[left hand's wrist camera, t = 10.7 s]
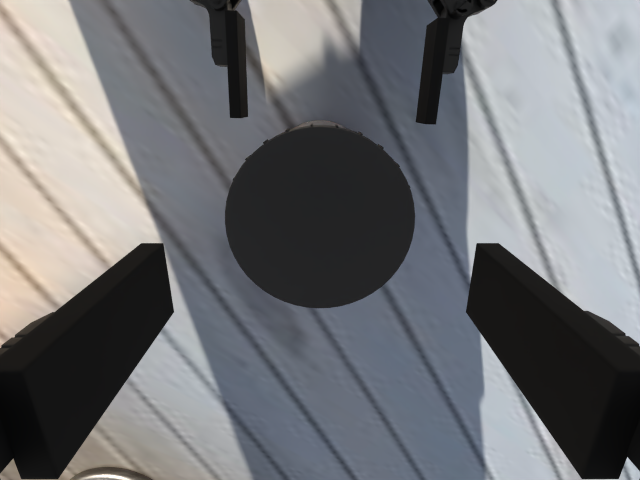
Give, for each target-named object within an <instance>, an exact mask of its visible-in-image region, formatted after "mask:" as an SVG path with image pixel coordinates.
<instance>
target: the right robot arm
mask: <svg viewBox="0 0 640 480" xmlns="http://www.w3.org/2000/svg"><path fill="white" fill-rule="evenodd" d="M190 1H191V2H193V3H194V4H196V5H200V6H202V7H204V8H206V9H207V10H208V12H209V17H210V32H211V46H212V58H213V60H214V62H215V65H218V66H221V67H228V85H229V105H230V118H244V117H248V104H247V75H246V45H245V19H244V18H243V17H242V16H241V15H240V14H239V13H238V12H237V11H234V10H235V9H236V7H237V6H238V4H239V3H240V2H241V0H190ZM496 1H497V0H428V2H429V4H430V5H431V7H432V9H433V10H434V12H435V14H436V15H437V17H438V18H437V19H436V20H434V21H433V22H431V23H430V24H429V25H427V29H426V38H425V46H424V55H423V64H422V73H421V81H420V90H419V99H418V108H417V116H416V122H418V123H423V124H436V119H437V112H438V104H439V97H440V89H441V81H442V74H450V73H454V71H455V69H456V67H457V65H458V60H459V53H460V46H461V39H462V32H463V26H464V22H465V20H466V19H467V17H469V16H472V15H476V14H478V13H480V12H482V11H484V10H485V9H487V8H489V7H491V6H492V5H494V4H495V3H496Z"/></svg>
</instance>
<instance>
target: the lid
mask: <svg viewBox="0 0 640 480" xmlns="http://www.w3.org/2000/svg"><path fill="white" fill-rule="evenodd" d="M263 143H264V144H263V145H262V146H261V147H260V148H258V149H257V150H256V151H255V152H254V153H253V154H252V155H250V156H248V157H247V158H246V159H245V160H246V161H245V163H244V164H243V165H242V166H241V168H240V170H239V171H238V173H237V174H236V176H235V178H233V183H232V185H231V187H230V190H229V194H228V197H227V201H226V210H225V225H226V233H227V237H228V241H229V245H230V248H231V250H232V252H233V255H234V257H235V259H236V260H237V262H238V264H239V265H240V267H241V268H242V270H243V271H244V272H245V273H246V275H247V276H248V277H249V278H250V279H251V280H252V281H253V282H254V283H255V284H256V285H257V286H259V287H260V288H261V289H262V290H264V291H265V292H267V293H269V294H270V295H272V296H273V297H275V298H278V299H280V300H282V301H284V302H287V303H290V304H294V305H297V306H303V307H309V308H331V307H338V306H343V305H346V304H350V303H353V302H355V301H358V300H360V299H363V298H364V297H366V296H368V295H370V294H372V293H373V292H375V291H376V290H377V289H379V288H380V287H382V286H383V285H384V284H385V283H386V282H387V281H388V280H389V279H390V278H391V277H392V276H393V275H394V273H395V272H396V271H397V270H398V268H399V267H400V265H401V264H402V262H403V261H404V259H405V256H406V254H407V252H408V250H409V247H410V244H411V241H412V238H413V232H414V225H415V211H414V202H413V198H412V194H411V190H410V186H409V185H408V183H407V180H406V178H405V176H404V175H403V173H402V171H401V169H400V168H399V167H400V166H399V165H398V164H397V163H396V162H395V161H394V160H393V159H392V158H391V157H390V156H389V155H388V154H387V153H386V152H385V151H384V150H383V147H382V146H381V145H379V144H378V145H376V144H375V143H374V142H372V141H371V140H370V139H368V138H366V137H364V136H363V134H362V133H361V132H358V133H357V132H354V131H351V130H349V129H346V128H341V127H338V125H336V124H335V126H330V125H313V123H312V124H311V125H309V126H303V127H298V128H295V129H292V130H290V129H287V130H286V132H284V133H281V134H279V135H277V136H275V137H274V138H272V139H271V140H268V139H267V140H266V141H265V142H263Z"/></svg>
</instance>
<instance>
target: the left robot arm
mask: <svg viewBox="0 0 640 480" xmlns="http://www.w3.org/2000/svg"><path fill="white" fill-rule="evenodd" d="M173 313H174V309H173V303H172V296H171V290H170V284H169V277H168V271H167V264H166V258H165V251H164V245H163V243H141V244H140V245H139V246H137V247H136V248H135V249H134V250H132V251H131V252H130V253H129V254H127V255H126V256H125V257H124V258H122V259H121V260H120V261H119V262H117V263H116V264H115V265H114V266H112V267H111V268H110V269H108V270H107V271H106V272H105V273H103V274H102V275H101V276H100V277H98V278H97V279H96V280H95V281H93V282H92V283H91V284H90V285H88V286H87V287H86V288H85V289H83V290H82V291H81V292H79V293H78V294H77V295H76V296H74V297H73V298H72V299H71V300H69V301H68V302H67V303H66V304H64V305H63V306H62V307H61V308H59V309H58V310H57V311H56V312H52V313H50V314H48V315H46V316H44V317H42V318H40V319H38V320H36V321H34V322H32V323H30V324H29V325H28V326H26V327H25V328H24V329H22V330H21V331H20V332H18V333H17V334H16V335H15V338H11V339H9V340H8V341H7V342H5V343H4V344H3V345H1V346H2V347H1V348H0V473H1V472H2V471H3V469H4V468H5V467H6V466H7V465H8V464H9V462H10V461H11V460H12V459H13V458H14V461H15V464H16V466H17V469H18V471H19V474H20V477H21V479H58V478H59V477H60V475H61V474H62V472H63V471H64V470H65V468H66V467H67V465H68V464H69V462H70V461H71V459H72V458H73V457H74V455H75V454H76V452H77V451H78V449H79V448H80V446H81V445H82V444H83V442H84V441H85V439H86V438H87V436H88V435H89V434H90V432H91V431H92V429H93V428H94V426H95V425H96V423H97V422H98V421H99V419H100V418H101V416H102V415H103V413H104V412H105V410H106V409H107V408H108V406H109V405H110V403H111V402H112V400H113V399H114V398H115V396H116V395H117V393H118V392H119V390H120V389H121V387H122V386H123V385H124V383H125V382H126V380H127V379H128V377H129V376H130V374H131V373H132V372H133V370H134V369H135V367H136V366H137V364H138V363H139V362H140V360H141V359H142V357H143V356H144V354H145V353H146V351H147V350H148V349H149V347H150V346H151V344H152V343H153V341H154V340H155V338H156V337H157V336H158V334H159V333H160V331H161V330H162V328H163V327H164V326H165V324H166V323H167V321H168V320H169V318H170V317H171V315H172V314H173ZM466 313H467V314H468V315H469V317H470V318H471V320H472V321H473V323H474V324H475V326H476V327H477V328H478V330H479V331H480V333H481V334H482V336H483V337H484V338H485V340H486V341H487V343H488V344H489V346H490V347H491V349H492V350H493V351H494V353H495V354H496V356H497V357H498V359H499V360H500V362H501V363H502V364H503V366H504V367H505V369H506V370H507V372H508V373H509V374H510V376H511V377H512V379H513V380H514V382H515V383H516V385H517V386H518V387H519V389H520V390H521V392H522V393H523V395H524V396H525V398H526V399H527V400H528V402H529V403H530V405H531V406H532V408H533V409H534V410H535V412H536V413H537V415H538V416H539V418H540V419H541V421H542V422H543V423H544V425H545V426H546V428H547V429H548V431H549V432H550V434H551V435H552V436H553V438H554V439H555V441H556V442H557V444H558V445H559V446H560V448H561V449H562V451H563V452H564V454H565V455H566V457H567V458H568V459H569V461H570V462H571V464H572V465H573V467H574V468H575V470H576V471H577V472H578V474H579V475H580V477H581V478H582V479H619V477H620V474H621V471H622V469H623V466H624V464H625V461H626V458H627V457H628V458H629V459H630V460H631V461H632V463H633V464H634V465H635V466H636V467H637V468H638V470H639V471H640V346H639V344H638V343H637V342H636V341H634V340H633V339H632V338H630V337H629V336H626V335H625V333H624V332H623V331H621V330H620V329H619V328H617V327H616V326H615V325H613V324H612V323H611V322H609V321H607V320H605V319H603V318H601V317H599V316H597V315H595V314H593V313H591V312H589V311H583V310H582V309H581V308H579V307H578V306H577V305H576V304H574V303H573V302H572V301H571V300H569V299H568V298H567V297H566V296H564V295H563V294H562V293H561V292H559V291H558V290H557V289H555V288H554V287H553V286H552V285H550V284H549V283H548V282H547V281H545V280H544V279H543V278H542V277H540V276H539V275H538V274H537V273H535V272H534V271H533V270H532V269H530V268H529V267H528V266H526V265H525V264H524V263H523V262H521V261H520V260H519V259H518V258H516V257H515V256H514V255H513V254H511V253H510V252H509V251H508V250H506V249H505V248H504V247H503V246H501V245H500V244H499V243H477V245H476V251H475V258H474V264H473V271H472V277H471V283H470V290H469V296H468V303H467V309H466ZM0 480H1V479H0ZM70 480H152V479H150V478H149V477H147V476H145V475H142V474H140V473H137V472H135V471H131V470H127V469H122V468H114V467H102V468H95V469H90V470H86V471H84V472H81V473H79V474H77V475H76V476H74V477H73V478H71V479H70ZM639 480H640V479H639Z"/></svg>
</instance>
